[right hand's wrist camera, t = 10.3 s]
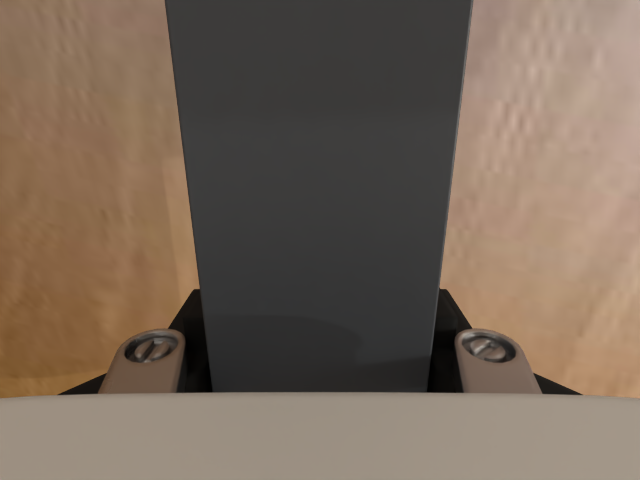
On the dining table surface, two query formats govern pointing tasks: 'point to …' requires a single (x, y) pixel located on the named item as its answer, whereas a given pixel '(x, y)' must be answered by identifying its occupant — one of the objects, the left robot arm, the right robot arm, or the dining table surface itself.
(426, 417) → the right robot arm
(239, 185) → the post
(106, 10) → the dining table surface
